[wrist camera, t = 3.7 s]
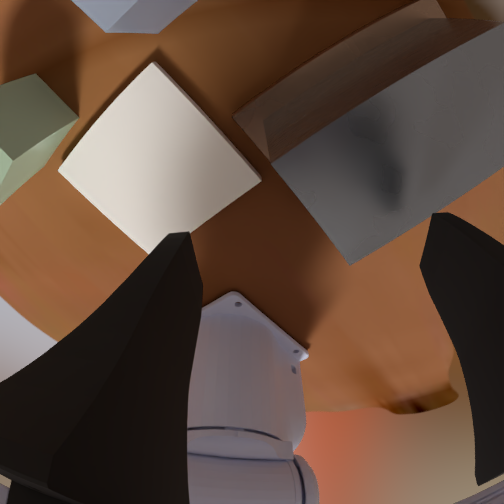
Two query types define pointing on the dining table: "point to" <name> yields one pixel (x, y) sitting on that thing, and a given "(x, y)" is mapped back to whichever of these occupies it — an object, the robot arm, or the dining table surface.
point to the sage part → (29, 130)
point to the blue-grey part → (133, 14)
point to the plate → (157, 162)
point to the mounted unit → (386, 123)
